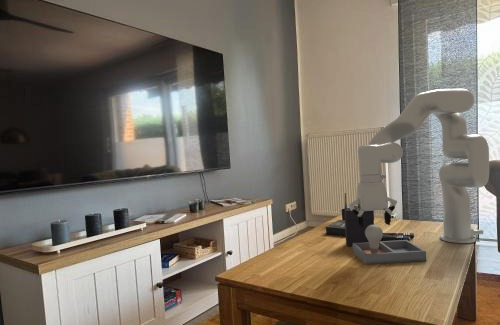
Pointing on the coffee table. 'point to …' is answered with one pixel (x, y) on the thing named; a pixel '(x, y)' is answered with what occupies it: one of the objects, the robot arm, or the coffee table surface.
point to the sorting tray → (389, 252)
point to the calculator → (357, 226)
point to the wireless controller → (337, 226)
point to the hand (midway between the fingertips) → (374, 225)
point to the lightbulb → (374, 237)
